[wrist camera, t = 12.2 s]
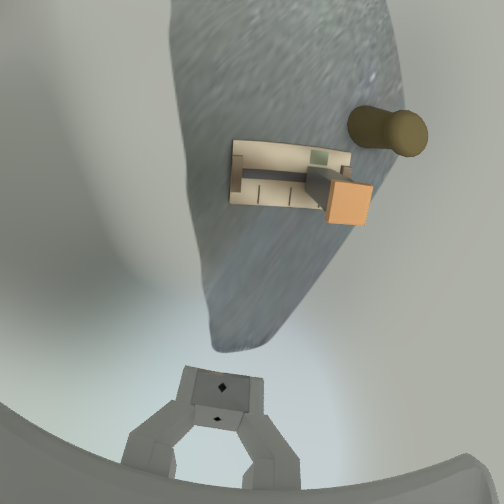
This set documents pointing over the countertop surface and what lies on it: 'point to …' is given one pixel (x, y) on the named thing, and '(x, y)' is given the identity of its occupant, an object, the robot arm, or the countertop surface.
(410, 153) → the cork
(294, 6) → the countertop surface
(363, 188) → the fader knob
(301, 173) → the fader board
